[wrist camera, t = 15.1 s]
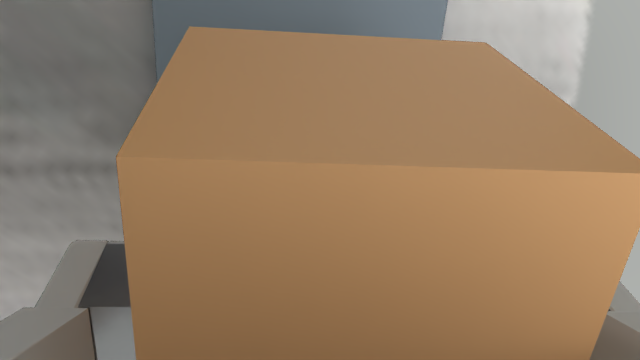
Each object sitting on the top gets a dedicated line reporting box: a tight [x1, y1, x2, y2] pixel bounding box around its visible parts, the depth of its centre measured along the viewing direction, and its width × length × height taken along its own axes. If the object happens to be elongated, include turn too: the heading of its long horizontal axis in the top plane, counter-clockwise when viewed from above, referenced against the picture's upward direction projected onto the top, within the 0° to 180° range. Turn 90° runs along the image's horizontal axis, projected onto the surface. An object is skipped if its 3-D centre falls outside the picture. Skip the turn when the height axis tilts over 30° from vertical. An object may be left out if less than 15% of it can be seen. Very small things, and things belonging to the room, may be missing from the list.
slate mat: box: [152, 0, 448, 83], centre depth 19 cm, size 9×9×1 cm
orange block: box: [116, 26, 640, 360], centre depth 9 cm, size 5×5×5 cm
